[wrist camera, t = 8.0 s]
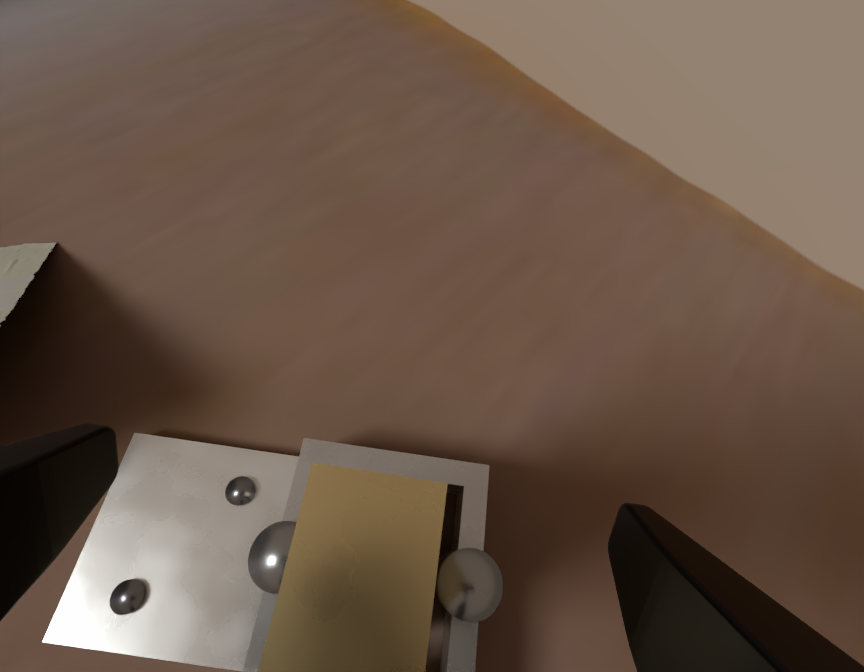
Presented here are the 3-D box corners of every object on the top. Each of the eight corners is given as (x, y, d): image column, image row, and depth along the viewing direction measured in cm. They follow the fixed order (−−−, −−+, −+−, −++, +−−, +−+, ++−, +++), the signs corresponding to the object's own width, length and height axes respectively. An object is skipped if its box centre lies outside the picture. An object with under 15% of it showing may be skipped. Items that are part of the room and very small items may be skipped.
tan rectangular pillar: (414, 635, 18) (428, 705, 9) (325, 621, 18) (255, 678, 9) (429, 518, 20) (453, 484, 11) (350, 505, 20) (312, 462, 11)
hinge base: (494, 477, 21) (509, 464, 18) (479, 717, 17) (494, 748, 14) (147, 426, 21) (108, 405, 18) (49, 654, 17) (-20, 672, 14)
